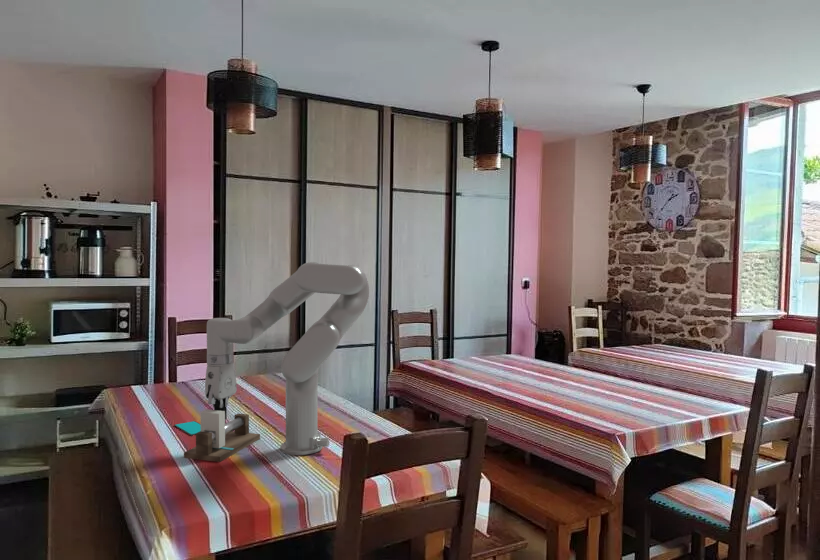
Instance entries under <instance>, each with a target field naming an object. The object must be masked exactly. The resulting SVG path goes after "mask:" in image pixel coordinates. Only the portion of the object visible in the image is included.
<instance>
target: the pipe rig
mask: <svg viewBox="0 0 820 560" xmlns="http://www.w3.org/2000/svg"><path fill="white" fill-rule="evenodd" d="M260 439H261V433H253V432H250V414H245V413H236V414H234V418H233V419H232V420H230V421H228V422H225V445H224V446H223V447H221V448H212V441H214V440H216V431H209V432H201V431H200V432H198V433H196V435H195V446H193V447H192V448H191V449H188V450H186V451H185V452H183V458H184V459H191V460H192V459H193V460H198V461H199V460H201V461H210V462H217V463H221V462H223V461H225V460H227V459H228V458H229V457H231V456H233V455H235V454H237V453H238V452H240V451H242V450H243V449H245V448H247V447H248V446H250V445H252V444H254V443H256V442H257V441H259V440H260Z"/></svg>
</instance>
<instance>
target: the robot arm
mask: <svg viewBox="0 0 820 560" xmlns="http://www.w3.org/2000/svg"><path fill="white" fill-rule="evenodd" d="M316 293H317V294H327V295H328V294H329V295H330V294H331V295H339V297H338V298H337V299H336V300H335V302H333V304H332V305H331V306H330V307H329V309H328V310H327V311H326V312H325V313H324V314H323V315H322V317H320V318H319V319H318V320H317V321H316V322H314V323H313V324H312V325H311V326H310V327H309V328H308V330H306V332H305V333H304V334H303V335H302V336H301V337H300V338H299V339H298V340H297V341H296V343H295V344H294V345H293V346H292V347H291V348H290V349H289V350H288V352H286V354H285V355H284V356H283V357H282V360H281V363H280V371H281V374H282V376H283V377H284V378H285V441H284V442H283V443H281V444H280V451H281V452H282V453H283V454H285V455H290V456H291V455H292V456H306V455H312V454H315V453H318V452H320V451H321V450H322V449H323V448H324V447H326V448H327V447H330V439H329V437H322V435H321V432H318V393H319V391H318V385H319V384H318V383H319V369H320V367H321V366H322V365H323V364H324V362H325V361H326V360H327V359H328V358H329V357H330V356H331V355H332V354H333V352H334V351H335V350H336V349H337V348H338V345H339V343H340V341H341V339H342V338H343V336H344V335H346V333H347V332H348V331H349V330H350V328H352V326H353V325H354V323H355V322H356V321H357V320H358V319H359V317H360V316H361V315H362V314H363V312H364V310H365V309H366V307H367V304H368V302H369V297H370V286H369V281H368V277H367V275H366V273H365V271H364V270H363V269H362V268H361V267H359V265H358V266H357V265H355V264H349V265H345V264H343V265H342V264H329V263H319V262H315V261H311V262H310V261H309V262H305V263H303V264H301V265H300V266H299V267H298V268H297V270H296V271H295V272H293V273H292V274H291V275H290V276H289V277H287V279H285V280H284V281H282V282H281V283H280V284H279V285H278V286H276V287H275V288H274V289H273V290H272V291H270V293H269V294H268V296H267V297H266V298H265V300H264V301H262V303H260V304H259V305H258V306H256V307H255V308H254V309H253V310H251V311H250V312H249V313H247V314H246V315H245V316H243V317H241V318H239V319H231V318H228V317H214V318H210V319H208V320H207V322H206V371H205V379H204V380H205V381H204V394H205V398H206V399H207V400H208V401H207V404H209V405H212V407H213V410H218V411H225V421H226V420H227V419H228V418H227V409H228V408H227V407H228V404H229V399H230V398H232V396H233V395H235V394H236V393H237V375H236V365H235V362H234V344H237V345H247V344H250V343H251V342H253V341H254V340H256V339H257V338H259V337H260V336H261V335H263V333H265V332H266V331H267V330H268V329H270V328H271V327H272V326H273V325H275V324H276V323H277V322H279V321H280V320H281V319H283V317H284V318H285V317H286V316H288V315H289V314H290V313H292V312H293V311H294V310H295V309H297V308H298V307H299V306H301V305H302V304H303V303H305V302H306V300H308V299H309V298H310V297H311V296H313V295H314V294H316Z"/></svg>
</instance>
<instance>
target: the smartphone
mask: <svg viewBox="0 0 820 560" xmlns="http://www.w3.org/2000/svg"><path fill="white" fill-rule="evenodd" d="M175 426H176V427H177V428H176V427H175ZM173 427H175V428H176V429H178V428H179V429H178V430H180V429H181V430H182V431H181V430H180V431H181V432H183V431H184V432H183V433H185V434H186V433H187V435H188V434H189V436H190V437H194V436H193V435H195V436H196V433H198V432H200V431H201V423H199V422H197V421H195V420H193V421H186V422H182V423H176V424H174V425H173Z"/></svg>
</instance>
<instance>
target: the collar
mask: <svg viewBox="0 0 820 560" xmlns="http://www.w3.org/2000/svg"><path fill="white" fill-rule="evenodd" d="M200 424H201V432H209V431H216V440H214V441H212V448H221V447H223V446H224V445H225V424H226V420H225V411H218V410H214V409H204V410H202V411H200Z"/></svg>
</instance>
